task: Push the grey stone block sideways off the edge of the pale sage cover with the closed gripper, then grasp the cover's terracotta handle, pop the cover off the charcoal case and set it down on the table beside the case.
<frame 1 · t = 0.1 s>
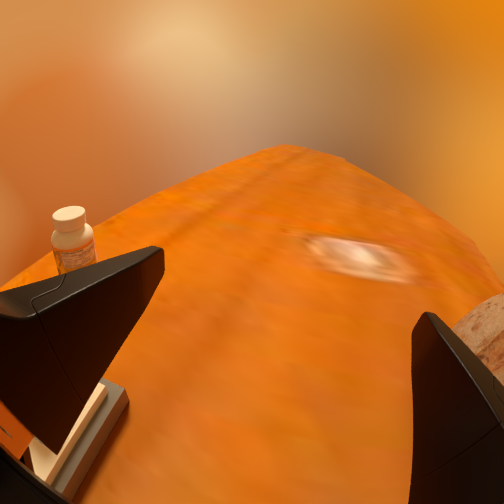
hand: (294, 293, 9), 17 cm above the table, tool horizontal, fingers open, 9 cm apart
bread: (494, 420, 19), on the table
case: (31, 434, 14), on the table
supplement bottle: (82, 284, 31), on the table
cover: (26, 415, 14), point 2 cm above the table, touching case
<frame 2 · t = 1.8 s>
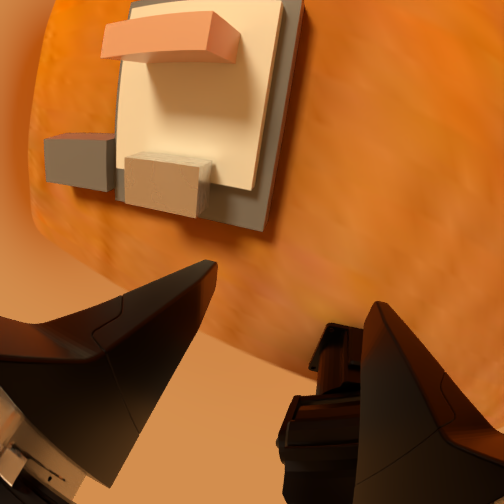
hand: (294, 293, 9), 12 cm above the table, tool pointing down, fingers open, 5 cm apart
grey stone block: (166, 181, 17), point 4 cm above the table, slide at 0.0 cm
case: (201, 100, 18), on the table
cover: (191, 85, 16), point 2 cm above the table, touching case
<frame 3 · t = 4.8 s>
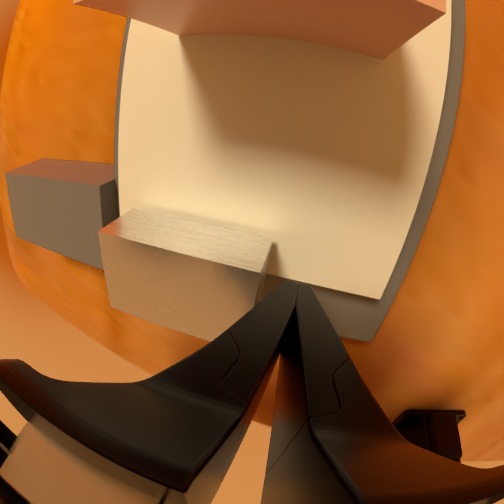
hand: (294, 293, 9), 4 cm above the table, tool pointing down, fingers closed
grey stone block: (183, 276, 9), point 4 cm above the table, slide at 1.6 cm, touching gripper
case: (278, 116, 10), on the table
cover: (274, 87, 8), point 2 cm above the table, touching case
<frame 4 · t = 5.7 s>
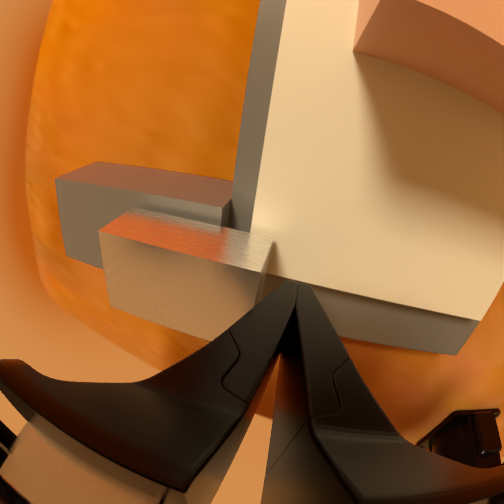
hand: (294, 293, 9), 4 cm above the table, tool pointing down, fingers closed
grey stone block: (183, 275, 9), point 4 cm above the table, slide at 6.7 cm, touching gripper
case: (406, 148, 9), on the table
cover: (429, 128, 7), point 2 cm above the table, touching case
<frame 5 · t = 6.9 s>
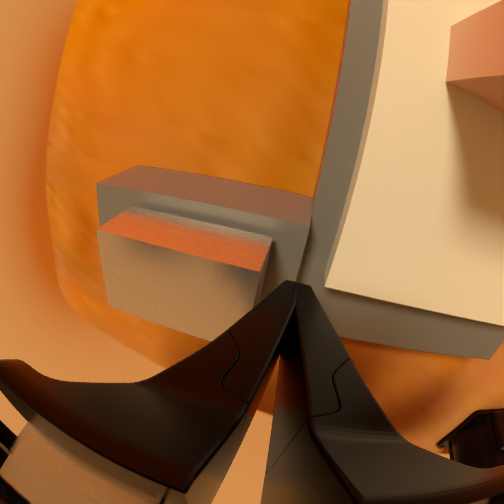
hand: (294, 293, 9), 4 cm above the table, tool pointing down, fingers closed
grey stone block: (182, 274, 9), point 4 cm above the table, slide at 9.5 cm, touching gripper
case: (463, 170, 9), on the table
cover: (493, 157, 7), point 2 cm above the table, touching case
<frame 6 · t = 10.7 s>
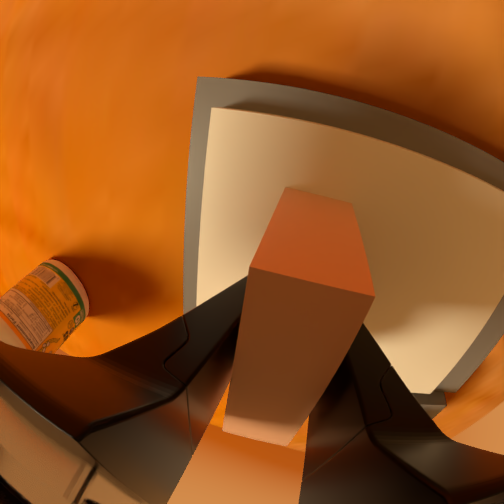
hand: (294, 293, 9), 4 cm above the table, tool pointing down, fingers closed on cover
case: (379, 259, 12), on the table
supplement bottle: (67, 287, 18), on the table
cover: (363, 279, 10), point 2 cm above the table, touching case, gripper
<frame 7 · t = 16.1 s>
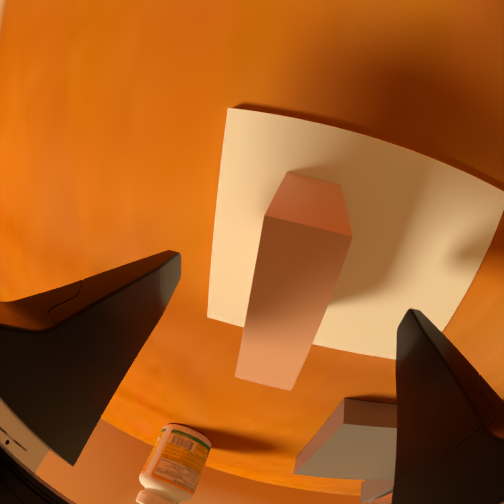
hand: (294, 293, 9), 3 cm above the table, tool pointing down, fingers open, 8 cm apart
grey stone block: (391, 503, 19), point 4 cm above the table, slide at 9.5 cm
case: (400, 441, 18), on the table
supplement bottle: (188, 433, 25), on the table
cover: (353, 252, 12), on the table
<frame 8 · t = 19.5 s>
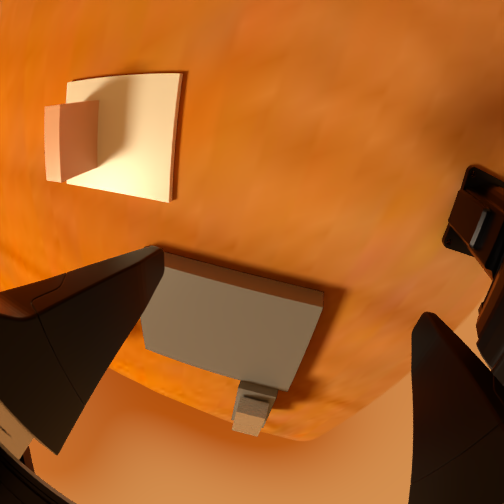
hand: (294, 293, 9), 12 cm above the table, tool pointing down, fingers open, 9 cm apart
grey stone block: (249, 417, 27), point 4 cm above the table, slide at 9.5 cm
case: (222, 320, 27), on the table
cover: (117, 133, 21), on the table
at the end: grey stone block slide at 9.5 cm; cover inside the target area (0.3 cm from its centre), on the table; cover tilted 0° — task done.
